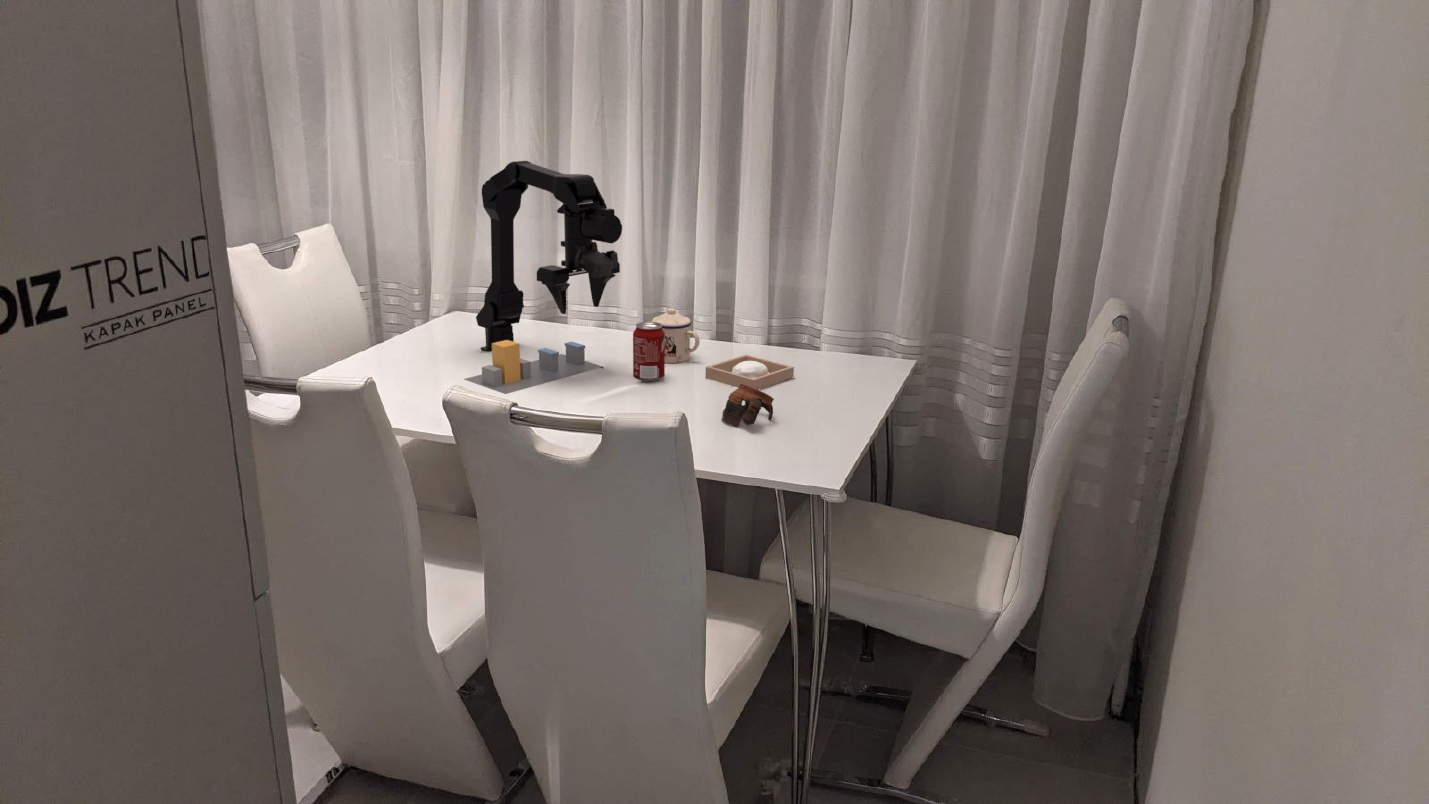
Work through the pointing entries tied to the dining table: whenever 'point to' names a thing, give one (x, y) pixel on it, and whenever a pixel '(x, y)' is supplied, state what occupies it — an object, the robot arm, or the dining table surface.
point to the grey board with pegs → (538, 369)
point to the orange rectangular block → (507, 360)
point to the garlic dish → (724, 375)
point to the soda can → (648, 352)
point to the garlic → (750, 369)
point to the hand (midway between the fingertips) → (579, 310)
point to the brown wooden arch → (746, 405)
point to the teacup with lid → (677, 336)
